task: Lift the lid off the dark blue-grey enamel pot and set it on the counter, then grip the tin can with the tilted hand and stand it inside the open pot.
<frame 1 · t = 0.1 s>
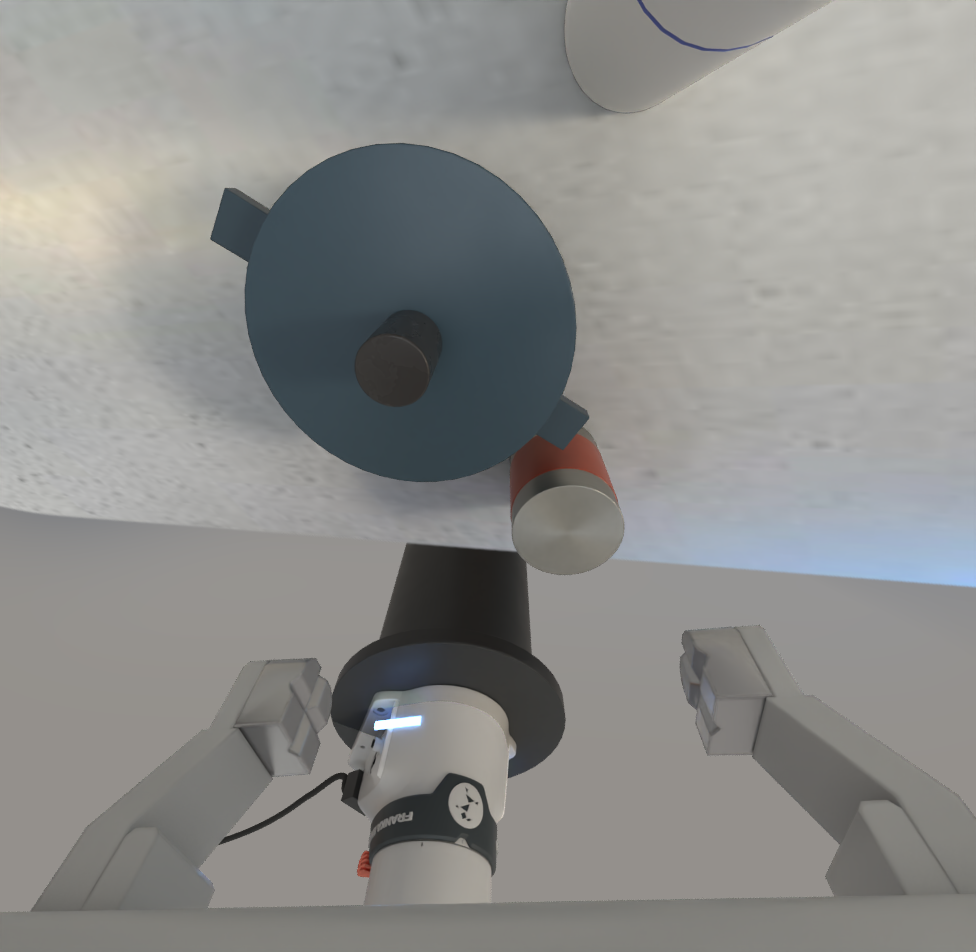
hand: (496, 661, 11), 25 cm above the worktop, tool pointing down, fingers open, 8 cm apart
can: (554, 460, 36), on the worktop
pot lid: (412, 339, 23), point 8 cm above the worktop, touching pot
pot: (435, 304, 30), on the worktop
cylindrical container: (636, 23, 24), on the worktop
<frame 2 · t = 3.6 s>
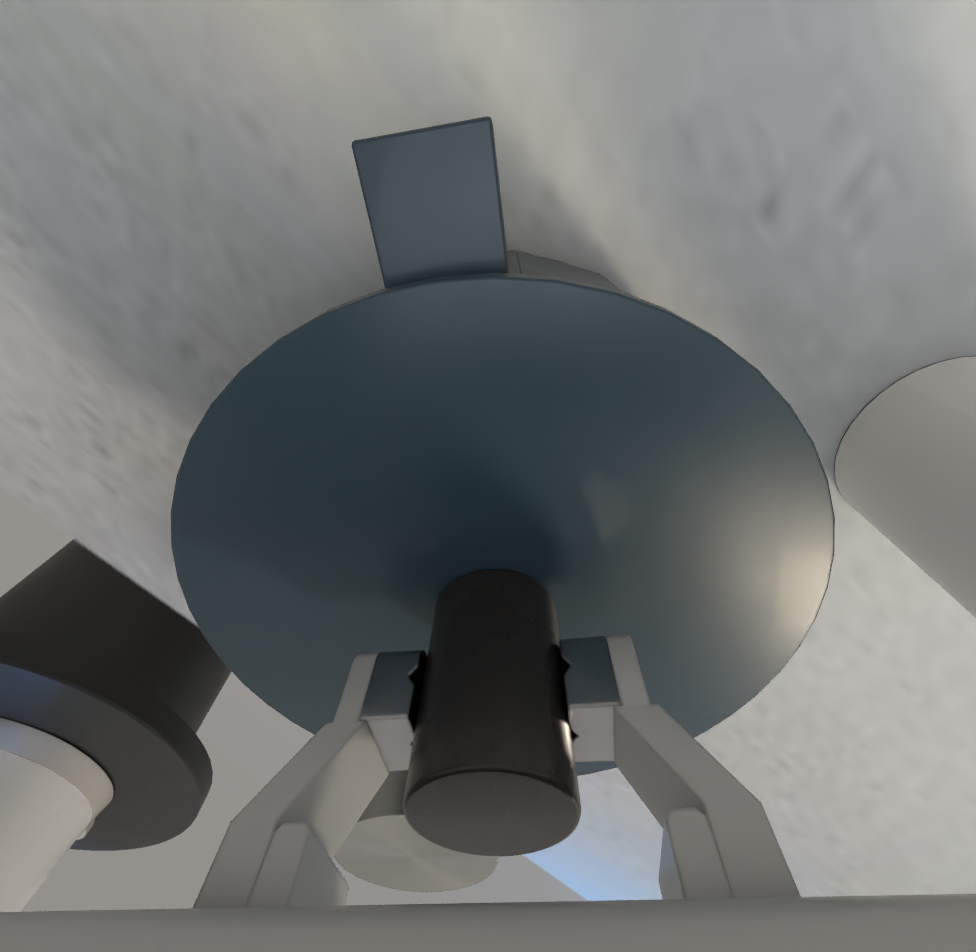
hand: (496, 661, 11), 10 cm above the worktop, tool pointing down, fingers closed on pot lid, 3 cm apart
can: (441, 664, 27), on the worktop
pot lid: (496, 599, 12), point 9 cm above the worktop, touching gripper, pot
pot: (500, 448, 20), on the worktop
cylindrical container: (928, 442, 19), on the worktop
when the fingers open (2 cm above the worktop, at t = 11.5 s): pot lid stays where it is, point 1 cm above the worktop.
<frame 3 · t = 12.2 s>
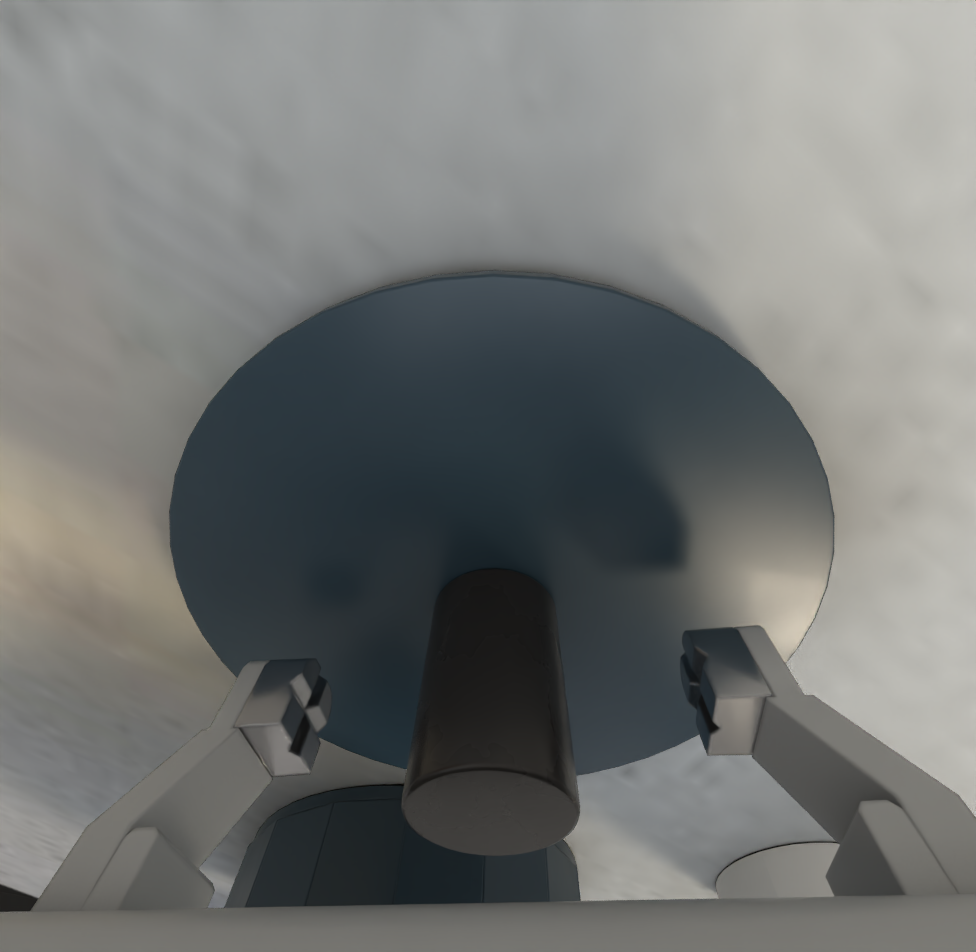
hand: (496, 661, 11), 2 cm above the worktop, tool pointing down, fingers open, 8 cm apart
pot lid: (495, 598, 12), point 1 cm above the worktop
pot: (416, 869, 22), on the worktop
cylindrical container: (796, 874, 21), on the worktop
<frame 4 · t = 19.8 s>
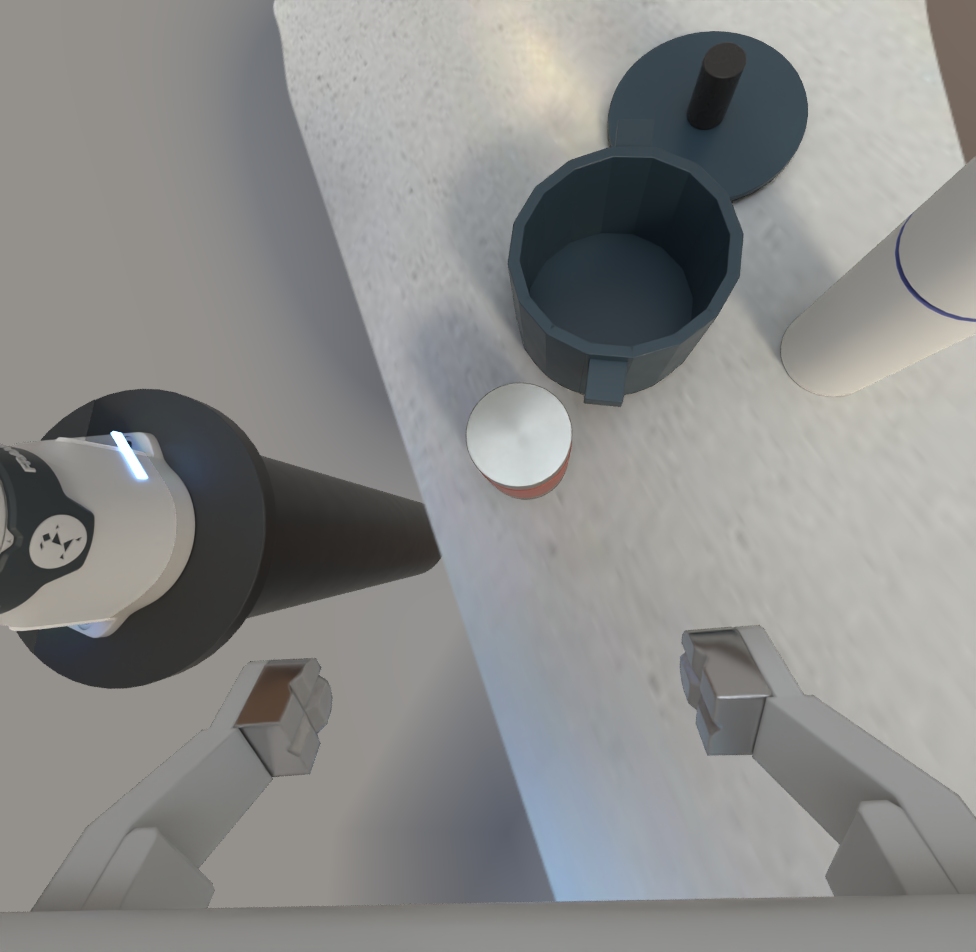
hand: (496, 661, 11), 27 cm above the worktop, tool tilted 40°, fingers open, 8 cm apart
can: (525, 458, 38), on the worktop
pot lid: (703, 119, 40), point 1 cm above the worktop
pot: (607, 310, 39), on the worktop
cylindrical container: (829, 352, 37), on the worktop
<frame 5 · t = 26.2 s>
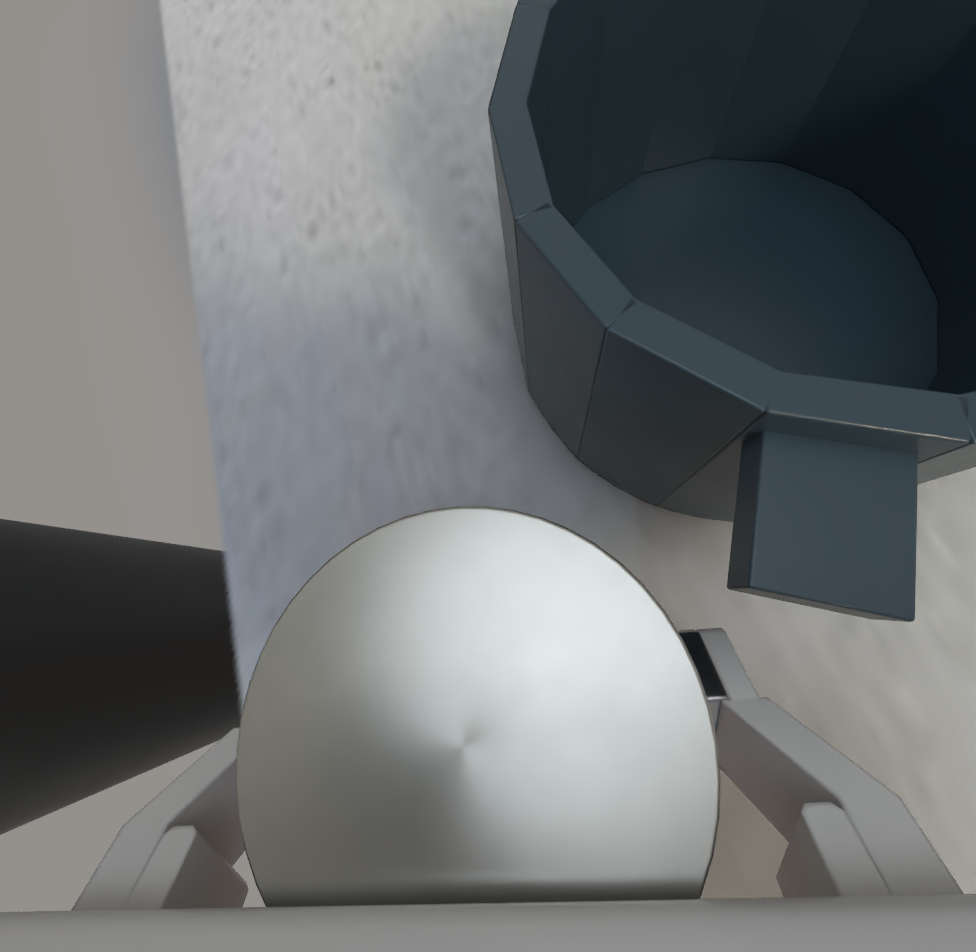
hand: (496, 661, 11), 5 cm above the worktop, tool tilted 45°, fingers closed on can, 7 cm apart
can: (512, 661, 15), on the worktop, touching gripper
pot: (722, 319, 17), on the worktop
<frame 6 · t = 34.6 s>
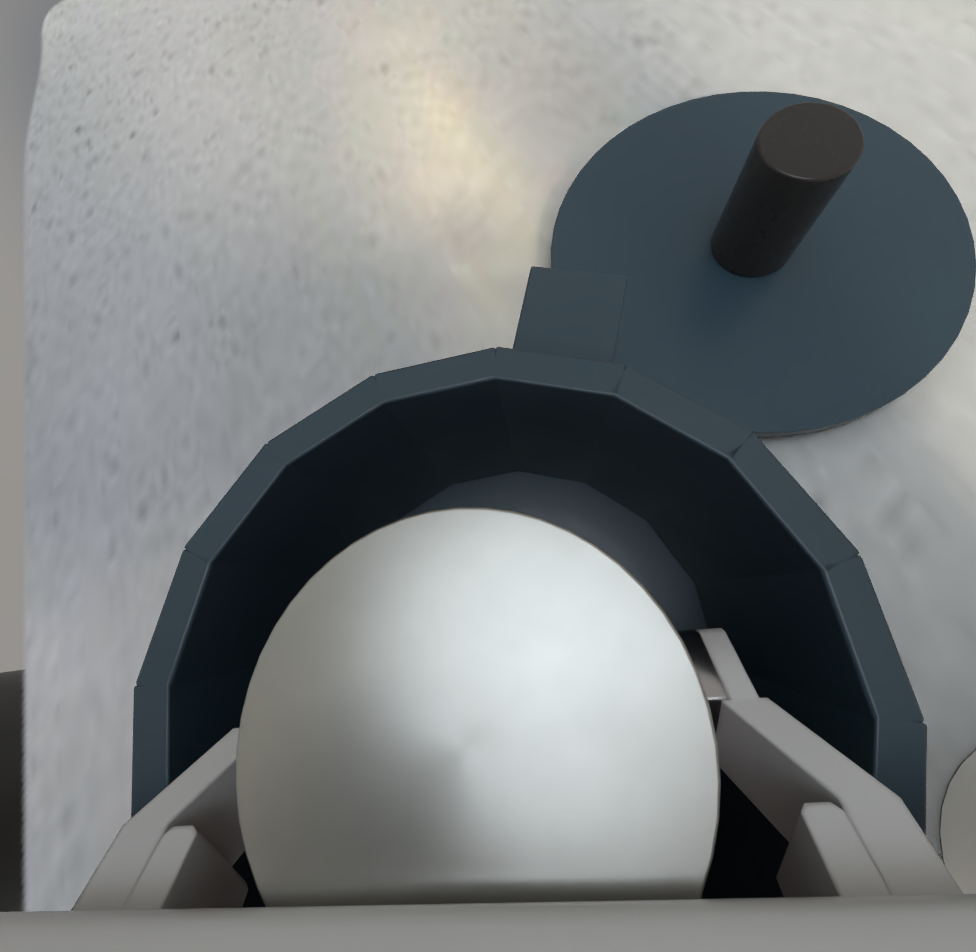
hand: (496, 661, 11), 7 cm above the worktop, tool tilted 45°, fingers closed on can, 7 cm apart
can: (512, 661, 15), point 2 cm above the worktop, touching gripper
pot lid: (745, 253, 19), point 1 cm above the worktop
pot: (517, 652, 17), on the worktop
when the fingers open (9 cm above the worktop, at t = 48.6 s): can drops 3 cm, resting on pot.
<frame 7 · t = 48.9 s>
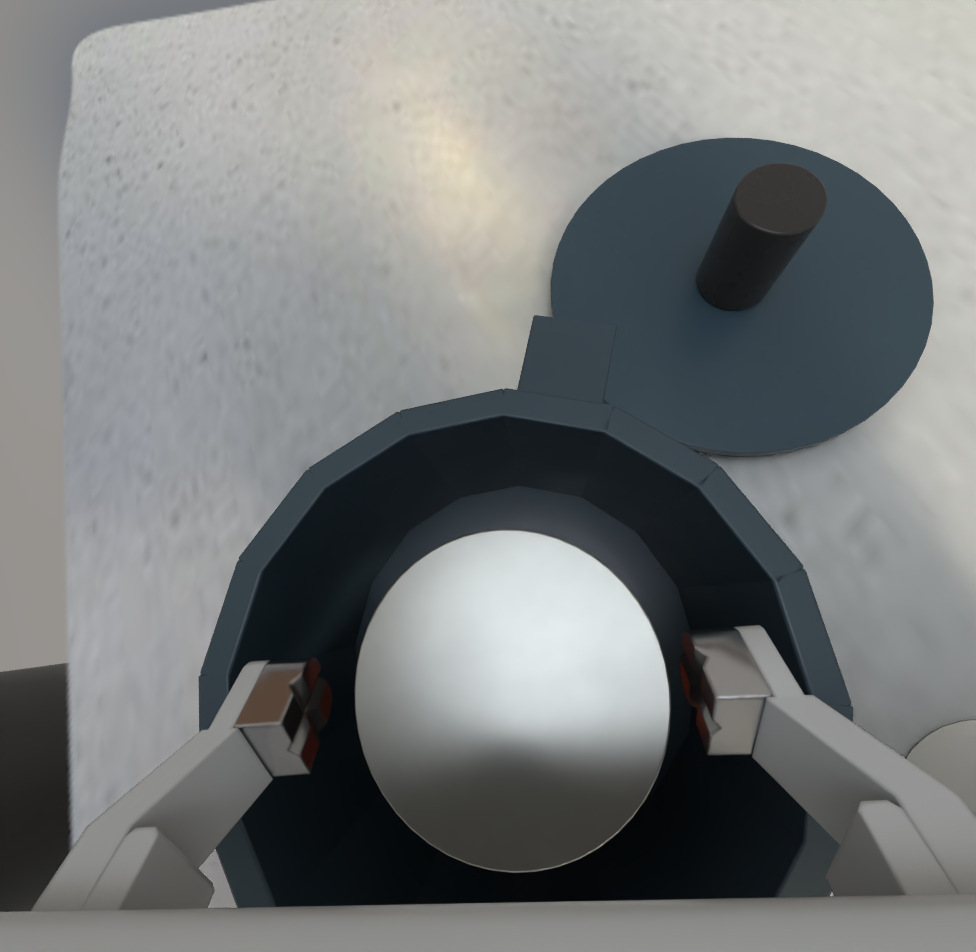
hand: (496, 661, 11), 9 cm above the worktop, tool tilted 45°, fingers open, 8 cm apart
can: (525, 645, 19), point 1 cm above the worktop, touching pot
pot lid: (727, 288, 21), point 1 cm above the worktop
pot: (519, 650, 19), on the worktop
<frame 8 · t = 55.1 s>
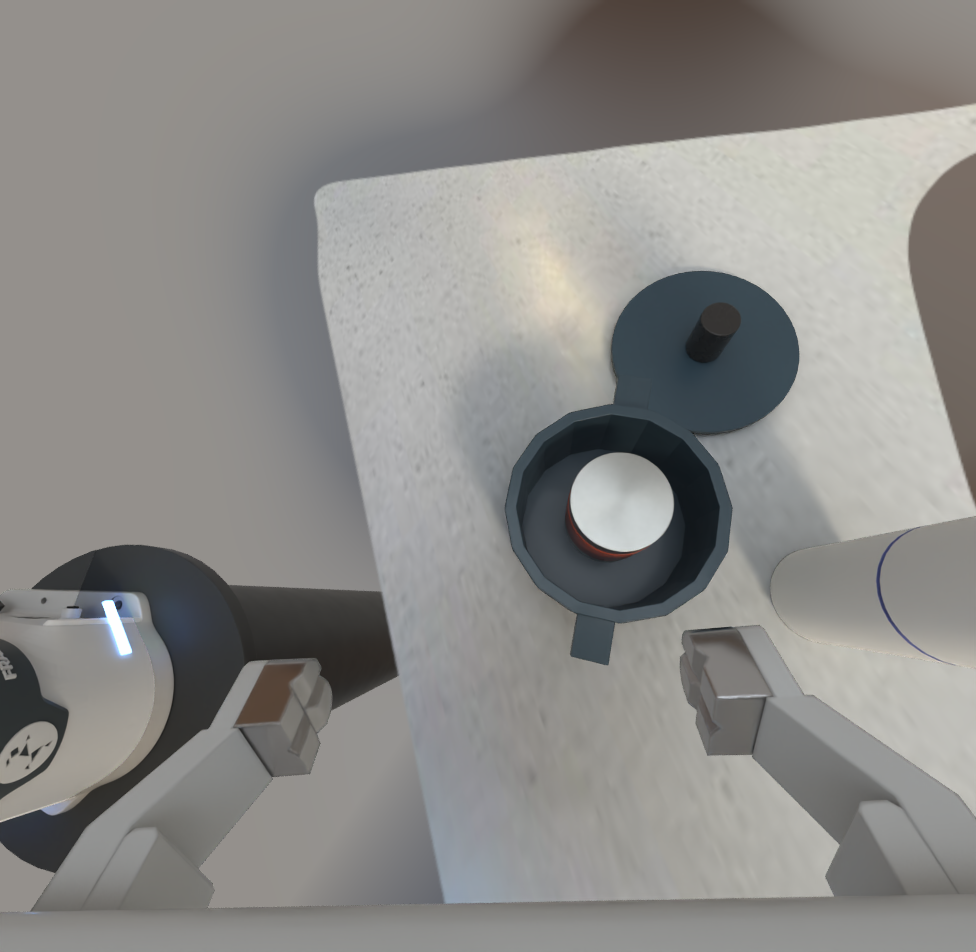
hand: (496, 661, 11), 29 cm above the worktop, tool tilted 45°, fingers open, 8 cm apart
can: (605, 522, 40), resting on pot
pot lid: (701, 350, 42), point 1 cm above the worktop
pot: (601, 525, 40), on the worktop
cylindrical container: (818, 594, 37), on the worktop
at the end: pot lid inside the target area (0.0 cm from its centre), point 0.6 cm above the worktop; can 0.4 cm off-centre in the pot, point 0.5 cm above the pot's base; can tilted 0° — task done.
